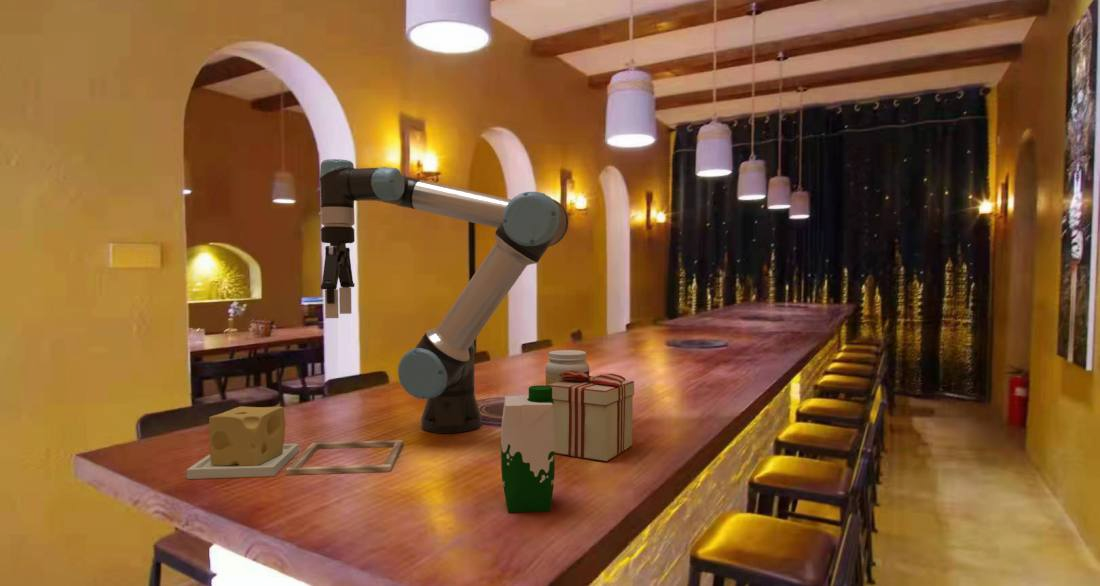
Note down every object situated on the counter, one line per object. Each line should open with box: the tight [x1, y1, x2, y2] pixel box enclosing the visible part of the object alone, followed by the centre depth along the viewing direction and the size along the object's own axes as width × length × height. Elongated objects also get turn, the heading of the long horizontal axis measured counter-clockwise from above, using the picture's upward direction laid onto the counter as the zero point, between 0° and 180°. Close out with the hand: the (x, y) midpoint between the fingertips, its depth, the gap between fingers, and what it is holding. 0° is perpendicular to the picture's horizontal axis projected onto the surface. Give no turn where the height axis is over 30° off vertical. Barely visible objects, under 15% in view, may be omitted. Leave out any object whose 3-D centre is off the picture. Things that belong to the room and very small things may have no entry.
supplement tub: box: [545, 349, 590, 386], centre depth 172 cm, size 12×12×17 cm
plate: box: [186, 443, 300, 480], centre depth 128 cm, size 16×16×2 cm
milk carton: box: [500, 384, 556, 514], centre depth 106 cm, size 9×9×20 cm
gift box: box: [545, 370, 635, 462], centre depth 140 cm, size 17×18×17 cm
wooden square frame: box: [284, 439, 404, 476], centre depth 132 cm, size 20×19×1 cm
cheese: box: [208, 406, 286, 466], centre depth 128 cm, size 10×11×10 cm
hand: (339, 315), depth 149 cm, fingers open, 13 cm apart
